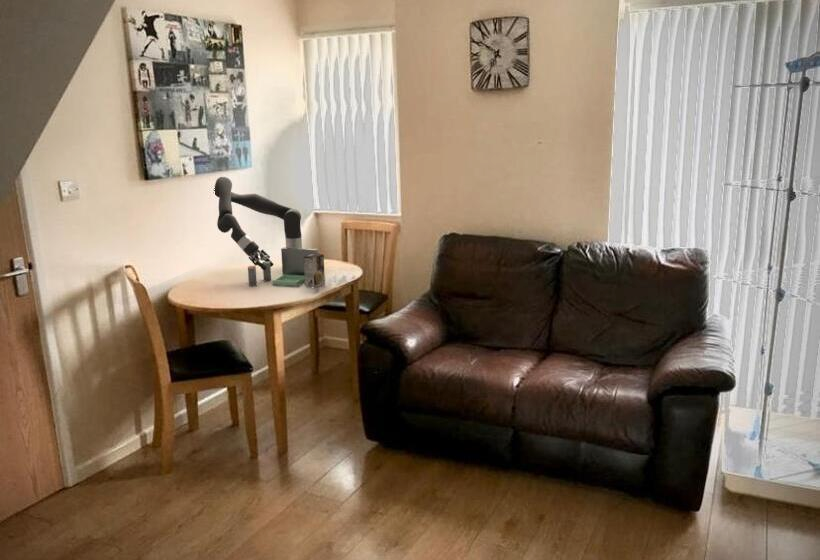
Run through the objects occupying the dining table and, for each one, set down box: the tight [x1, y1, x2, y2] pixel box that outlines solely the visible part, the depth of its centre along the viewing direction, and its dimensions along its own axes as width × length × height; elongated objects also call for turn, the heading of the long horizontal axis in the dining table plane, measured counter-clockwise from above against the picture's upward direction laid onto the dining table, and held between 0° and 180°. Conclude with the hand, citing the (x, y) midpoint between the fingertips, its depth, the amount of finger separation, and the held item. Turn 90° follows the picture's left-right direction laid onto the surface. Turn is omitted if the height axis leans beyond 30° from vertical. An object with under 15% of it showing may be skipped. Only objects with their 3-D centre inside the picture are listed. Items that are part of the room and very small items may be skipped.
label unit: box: [280, 246, 319, 276], centre depth 363 cm, size 8×20×16 cm, turn 76°
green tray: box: [271, 273, 305, 287], centre depth 354 cm, size 14×14×2 cm
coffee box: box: [304, 252, 326, 289], centre depth 347 cm, size 9×6×16 cm
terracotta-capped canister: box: [247, 265, 258, 286], centre depth 349 cm, size 4×4×10 cm
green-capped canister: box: [262, 261, 272, 282], centre depth 358 cm, size 4×4×10 cm
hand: (268, 267), depth 358 cm, fingers open, 8 cm apart
